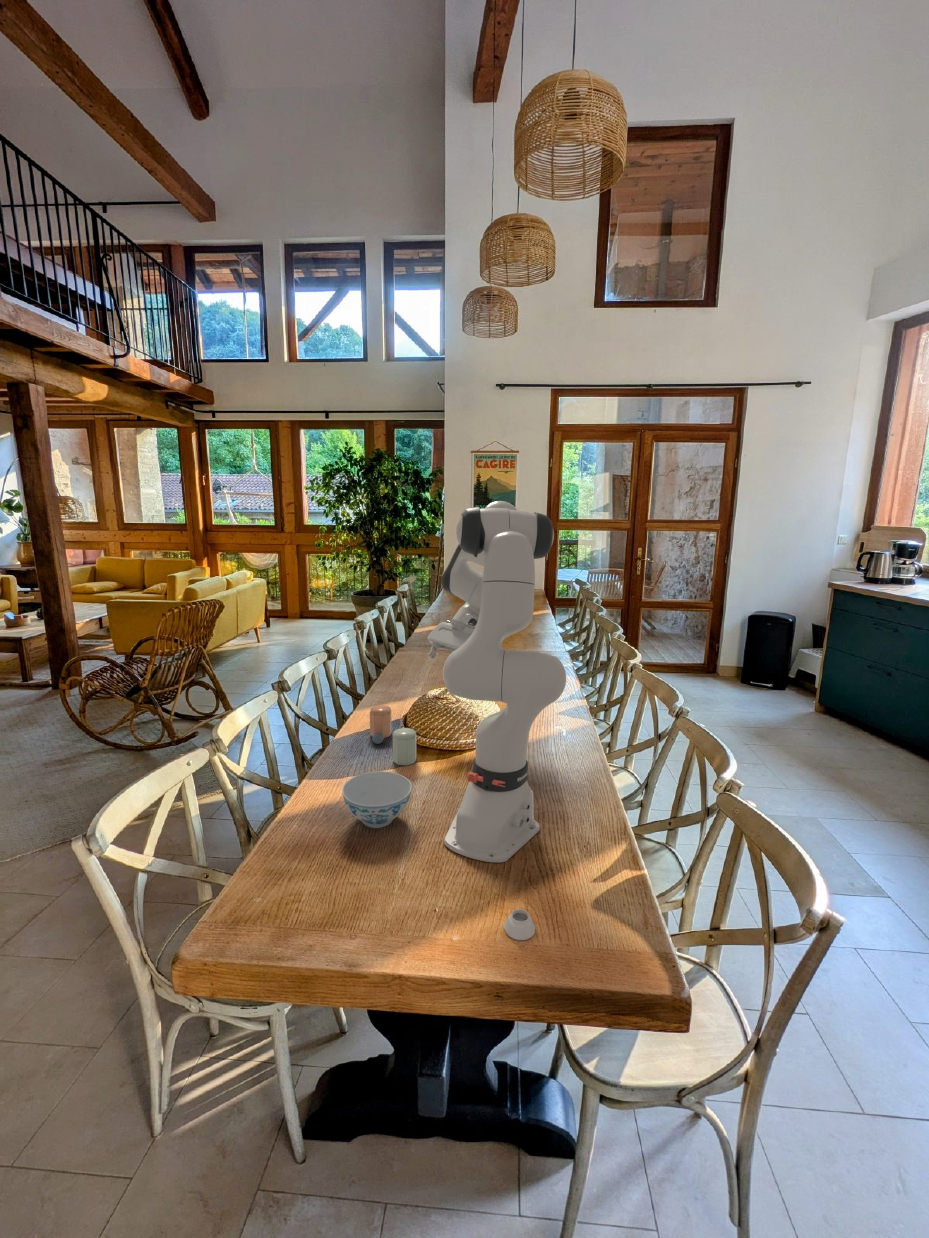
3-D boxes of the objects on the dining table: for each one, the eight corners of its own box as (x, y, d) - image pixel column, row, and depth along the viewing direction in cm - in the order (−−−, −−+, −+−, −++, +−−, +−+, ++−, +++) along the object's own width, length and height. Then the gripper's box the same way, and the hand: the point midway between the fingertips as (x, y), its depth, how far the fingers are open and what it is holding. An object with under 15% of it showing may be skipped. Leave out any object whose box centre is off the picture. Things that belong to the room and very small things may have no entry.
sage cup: (420, 760, 153) (420, 733, 151) (401, 767, 149) (401, 738, 147) (407, 753, 157) (407, 726, 156) (389, 759, 153) (389, 731, 152)
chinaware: (393, 845, 116) (393, 811, 114) (329, 830, 120) (328, 797, 119) (422, 808, 129) (422, 778, 128) (364, 796, 134) (363, 766, 132)
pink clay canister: (394, 734, 169) (394, 709, 168) (377, 739, 166) (377, 714, 164) (383, 728, 174) (383, 703, 172) (366, 733, 170) (366, 708, 168)
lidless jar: (506, 917, 97) (502, 939, 92) (506, 902, 96) (503, 923, 91) (535, 921, 96) (533, 944, 91) (536, 906, 95) (534, 928, 90)
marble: (379, 746, 161) (379, 736, 160) (370, 744, 162) (370, 734, 162) (385, 742, 164) (385, 732, 163) (376, 740, 165) (376, 730, 165)
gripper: (438, 613, 176) (413, 647, 172) (483, 623, 161) (456, 661, 157) (449, 625, 180) (424, 659, 176) (494, 636, 165) (468, 674, 161)
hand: (440, 660), depth 166 cm, fingers open, 8 cm apart
